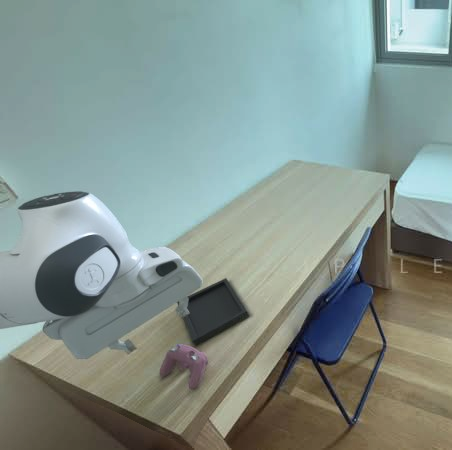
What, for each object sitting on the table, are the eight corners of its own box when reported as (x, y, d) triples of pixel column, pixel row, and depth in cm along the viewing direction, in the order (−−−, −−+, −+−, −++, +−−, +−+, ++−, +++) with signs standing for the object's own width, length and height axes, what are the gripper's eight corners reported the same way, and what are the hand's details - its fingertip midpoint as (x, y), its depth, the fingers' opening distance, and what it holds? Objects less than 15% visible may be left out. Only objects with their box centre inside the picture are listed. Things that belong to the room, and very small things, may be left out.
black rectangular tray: (196, 346, 72) (192, 341, 71) (180, 306, 82) (176, 301, 81) (249, 316, 78) (247, 311, 77) (228, 282, 89) (226, 277, 88)
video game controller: (211, 378, 67) (212, 349, 66) (191, 392, 62) (192, 360, 61) (178, 365, 70) (178, 337, 68) (157, 377, 65) (156, 347, 64)
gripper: (40, 334, 43) (99, 385, 51) (189, 253, 56) (218, 303, 64) (29, 314, 46) (86, 365, 54) (173, 241, 59) (202, 291, 67)
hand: (159, 331), depth 59 cm, fingers open, 8 cm apart
